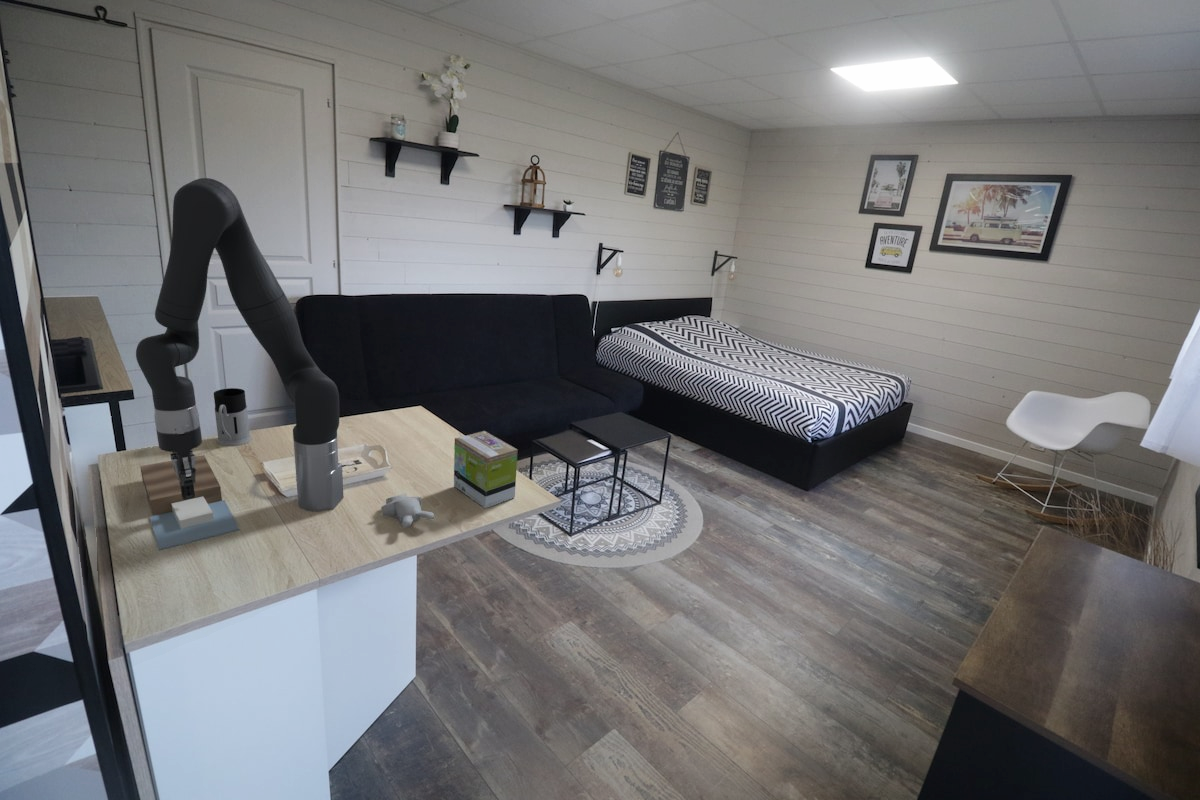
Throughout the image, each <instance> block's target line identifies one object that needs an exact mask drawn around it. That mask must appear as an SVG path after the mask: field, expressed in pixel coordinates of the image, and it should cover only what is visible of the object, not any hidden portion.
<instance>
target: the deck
mask: <svg viewBox="0 0 1200 800" xmlns="http://www.w3.org/2000/svg"><path fill="white" fill-rule="evenodd" d="M195 460H196V462H195V469H196V474H195V480H196V482H195V483H194V484H193V485H194V493H195V497H194V498H198V497H202V496H203V497H204V498H205V500H206V502H207V504H209V503H214V502H218V501H223V498H222V497H223V496H222V489H221V485H220V483H219V481H218V479H217V477H216V475H215V473H214V471H213V469H212V468H211V466H210V464H209V462H208V459H207V458H206V456H205V455H198V456H195ZM140 473H141V474H140V475H141V479H142V482H143V483H142V484H143V486H144V490H145V493H146V496H147V500H148V503H149V508H150V511H151V514H152V515H151V516H155V515H159V514H164V513H169V512H173V511H172V505H171V504H172V503H176V502H180V501H185V500H184V499H183V498H182V494H181V487H180V484H179V481H178V477H177V476H176V473H175V471H174V467H173V462H172V460H168V461H164V462H156V463H150V464H145V465H140ZM194 498H191V499H194ZM186 500H189V499H186Z"/></svg>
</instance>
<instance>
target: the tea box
mask: <svg viewBox="0 0 1200 800" xmlns="http://www.w3.org/2000/svg"><path fill="white" fill-rule="evenodd" d="M453 445H454V453H453V456H454V460H453V461H454V464H453V486H454V487H455V488H457V489H458V490H459V491H461V492H462V493H463V494H465V495H466V496H467V497H469V498H470V499H471V500H473V501H475V502H476V503H477V504H478V505H480V506H481V507H482V506H483V509H488V508H491V507H493V505H494V506H496V504H497V505H499V504H502V503H504V502H503V501H505V502H507V501H509V499H510V500H513V499H515V497H516V482H517V465H518V452H519V451H518V449H517V448H515V447H514V446H512V445H511V444H509V443H507V442H505V441H503V440H502V439H500V438H499V437H496V436H495V435H493V434H491V433H489V432H488V431H485V430H483V431H478V432H474V433H471V434H467V435H463V436H459V437H455V438H454V444H453ZM512 498H513V499H512ZM506 500H507V501H506ZM501 502H502V503H501ZM498 503H499V504H498ZM490 506H491V507H490Z"/></svg>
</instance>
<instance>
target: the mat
mask: <svg viewBox="0 0 1200 800" xmlns="http://www.w3.org/2000/svg"><path fill="white" fill-rule="evenodd" d="M208 505H209V507H210V509H211V510H212V512H213V518H214V521H210V522H206V523H202V524H198V525H194V526H190V527H186V528H182V529H181V528H180V526H179V524H178V522H177V520H176V518H175V516H174V513H173V512H169V513H164V514H159V515H155V516H153V515H151V516H149V519H150V522H151V526H152V529H153V534H154V537H155V541H156V544H157V548H158V550H159V551H161V550H165V549H170V548H173V547H178V546H180V545H181V546H182V545H185V544H188V543H189V544H190V543H193V542H197V541H201V540H205V539H208V538H212V537H216V536H221V535H224V534H229V533H232V532H236V531H239V530H240V527H239V526H238V523H237V522H236V520H235V518H234V516H233V514H232V512H231V510H230V508H229V506H228V504H227V502H226V500H225V499H222V501H218V502H214V503H209V504H208Z"/></svg>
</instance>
